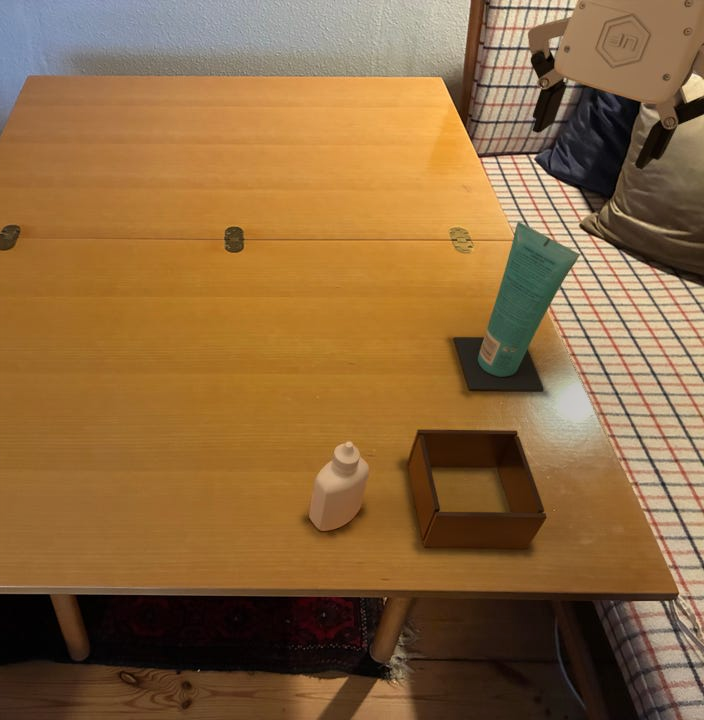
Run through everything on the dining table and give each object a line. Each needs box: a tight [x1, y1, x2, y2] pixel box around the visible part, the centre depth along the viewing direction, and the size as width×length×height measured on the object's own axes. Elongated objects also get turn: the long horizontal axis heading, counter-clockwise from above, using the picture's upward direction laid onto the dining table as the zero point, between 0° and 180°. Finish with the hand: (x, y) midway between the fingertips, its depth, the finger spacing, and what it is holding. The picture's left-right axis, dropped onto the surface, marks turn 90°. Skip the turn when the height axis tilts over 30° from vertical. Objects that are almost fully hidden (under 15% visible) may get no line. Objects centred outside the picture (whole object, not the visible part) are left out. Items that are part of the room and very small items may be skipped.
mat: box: [453, 336, 545, 392], centre depth 87 cm, size 9×9×1 cm
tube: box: [478, 221, 581, 377], centre depth 80 cm, size 7×5×19 cm, turn 44°
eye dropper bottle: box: [308, 440, 371, 532], centre depth 68 cm, size 4×6×12 cm
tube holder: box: [406, 428, 548, 550], centre depth 71 cm, size 10×10×6 cm
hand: (591, 144), depth 65 cm, fingers open, 9 cm apart
